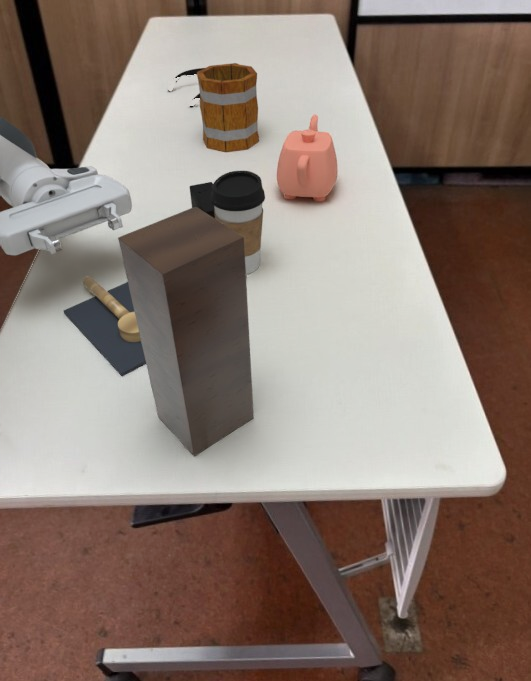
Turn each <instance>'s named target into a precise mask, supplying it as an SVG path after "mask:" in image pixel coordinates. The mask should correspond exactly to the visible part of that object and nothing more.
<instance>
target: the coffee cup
mask: <svg viewBox="0 0 531 681" xmlns="http://www.w3.org/2000/svg"><path fill="white" fill-rule="evenodd" d="M262 182H263V181H262V178H261V177H260V175H258V174H257V173H255V172H253V171H250V170H232V171H229V172H226V173H223V174H222V175H220V176H218V177H217V178H216V179H215V180H214V182H213V189H212V193H211V203H212V204H213V205H214V208H215V210H214V215H215V219H216V220H218V221H219V222H221V223H222V224H224V225H225V226H227V227H229V228H230V229H232V230H233V231H235V232H236V233H238V234H239V235H241V236H243V237H244V248H245V267H246V275H249V274H252V273H254V272H256V271H257V270H258V269H259V267H260V260H261V247H262V234H263V221H264V208H263V203H264V202H265V200H266V194H265V190H264V187H263V183H262Z"/></svg>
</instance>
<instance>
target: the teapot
mask: <svg viewBox="0 0 531 681" xmlns="http://www.w3.org/2000/svg"><path fill="white" fill-rule="evenodd" d="M318 119H319V117H318V115H317V114H313V115H312V116H311V117H310V120H309V121H310V122H309V127H308V129H304V130H292V131H291V132H289V134H288V135H287V136H286V137H285V139H284V141H283V145H282V147H281V150H280V153H279V156H278V160H277V167H276V182H277V183H276V184H277V187H278V189H279V191H280V193H281V194H282V195H284V196H283V197H284V199H286V200H294V199H296V198H297V197H300V198H303V197H304V198H313V200H314V201H315V202H324V201H326V199H327V198H326V197H327V196H328V195H329V194H330V193H331V191H332V189H333V187H334V186H335V184H336V182H337V179H338V172H339V171H338V170H339V169H338V158H337V154H336V149H335V145H334V141H333V137H332V134H330V133H329V132H327V131H319V129H318V122H319V121H318Z"/></svg>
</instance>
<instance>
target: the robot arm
mask: <svg viewBox="0 0 531 681" xmlns="http://www.w3.org/2000/svg"><path fill="white" fill-rule="evenodd" d="M98 172H99V171H98V170H97V168H96V167H94V166H92V165H90V166H89V165H87V166H82V167H81V166H80V167H74V168H50V167H49V166H48V164H46V163H45V162H44V161H42V160H41V159H40V158H38V156H37V152H36V149H35V146H34V144H33V142H32V140H30V138H29V137H28V136H27V135H26V134H25V133H24V132H22V131H21V129H19V128H17V127H16V126H15V125H14V124H12V123H10V122H9V121H7V119H5V117H3V116H1V115H0V197H1V198H2V199H3V200H4V201H5V202H6V203H7V204H8V205H10V206H11V208H9V209H4V210H1V211H0V247H1V249H2V250H3V252H4V253H5V254H6V255H10V256H18V255H21V254H24V253H26V252H29V251H31V250H34V249H35V250H42V251H48V252H49V253H50V254H51V255H55V254H57V253H60V252H61V251H63V247H62V243H61V241H60V240H61V239H63V238H66V237H68V236H72V235H74V234H77V233H79V232H81V231H85V230H88V229H90V228H93V227H94V226H98V225H101V224H103V223H106V222H107V226H108V228H109V229H111V230H112V231H116V230H119V229H122V228H123V227H124V226H123V220H122V218H121V217H122V216H125V215H128V214H129V213H131V212H132V209H133V202H132V196H131V192H130V190H129V189H128V188H127V187H126V186H125V185H124V184H122V183H121V182H119V181H117V180H116V179H114V178H113V177H111V176H109V175H106V174H99V173H98Z"/></svg>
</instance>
